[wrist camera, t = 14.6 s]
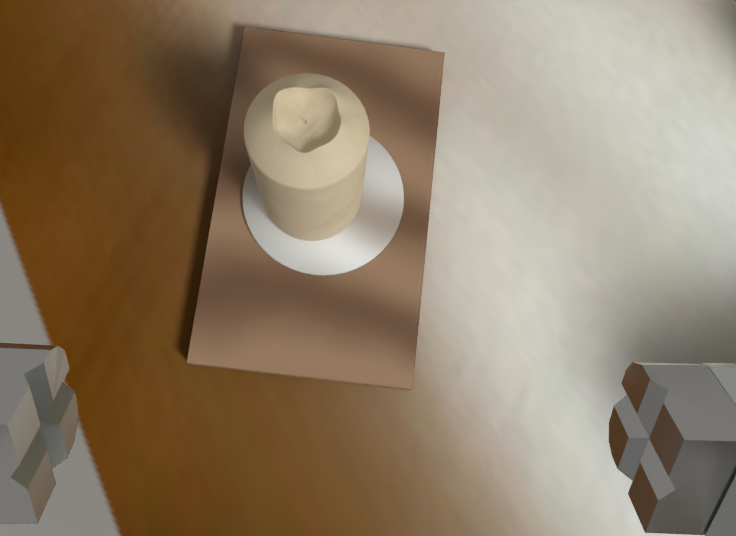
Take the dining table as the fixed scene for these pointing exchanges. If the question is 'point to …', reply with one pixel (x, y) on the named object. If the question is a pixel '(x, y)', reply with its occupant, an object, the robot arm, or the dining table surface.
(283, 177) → the candle
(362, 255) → the board
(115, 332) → the dining table surface
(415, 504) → the dining table surface
